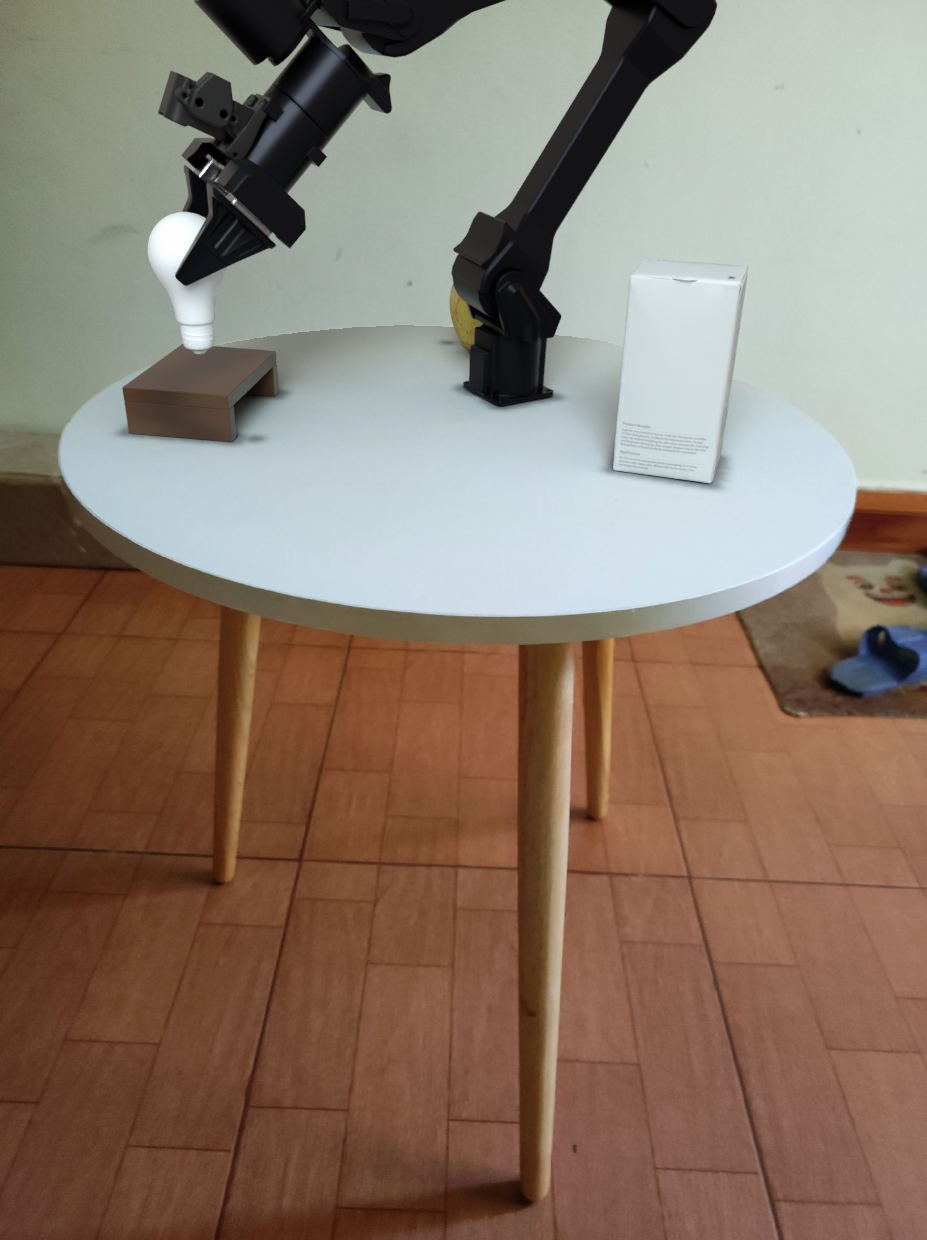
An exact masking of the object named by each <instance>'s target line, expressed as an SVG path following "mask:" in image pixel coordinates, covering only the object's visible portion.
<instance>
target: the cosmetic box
mask: <svg viewBox="0 0 927 1240" xmlns="http://www.w3.org/2000/svg"><path fill="white" fill-rule="evenodd" d="M748 273H749V265H745V264H744V265H742V264H731V263H717V262H716V263H714V262H704V261H703V262H702V261H701V262H700V261H686V260H674V259H660V258H651V257H645V258H644V259H643V261H642V262H641V263H640V264H639V265H638V266H637V267H636V268H635V269H634V270H633V272H632V273H631V274H630V275H629V278H628V289H627V299H626V312H625V321H624V323H625V325H624V338H623V345H622V346H623V347H622V357H621V368H620V381H619V392H618V403H617V414H616V425H615V437H614V447H613V462H612V470H613V471H615V472H622V473H623V472H624V473H632V474H639V475H645V476H653V477H661V478H668V479H675V480H681V481H682V480H683V481H691V482H696V483H704V484H712V482H713V480H714V478H715V474H716V472H717V469H718V466H719V462H720V459H721V456H722V451H723V445H724V438H725V437H724V436H725V431H726V424H727V417H728V411H729V405H730V397H731V392H732V391H731V390H732V384H733V383H732V382H733V376H734V370H735V364H736V358H737V357H736V356H737V350H738V345H739V344H738V343H739V337H740V329H741V323H742V316H743V309H744V302H745V295H746V288H747V281H748V275H749V274H748Z"/></svg>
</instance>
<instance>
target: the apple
mask: <svg viewBox="0 0 927 1240" xmlns="http://www.w3.org/2000/svg"><path fill="white" fill-rule="evenodd" d="M449 314H450V318H451V323H452V325H453V329H454V331H455V333H456V336H457V338H458V340H459V341H460V343H461V344H462V346H464V347H465V348H466V349H467V350H468V351H470V347H471V345H473V344H474V330H475V327H479V326H481V325H482V324H483V323H481V322H479V321H478V320H475V319H473V318H471V315H470V312H469V309H468V306H467V303H466V302H465V301H463V300H462V299H461V298H460V297H459V296H458V294H457V292H456V290H455V288H454V284H453V283H452V286H451V289H450V294H449Z"/></svg>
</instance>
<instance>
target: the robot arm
mask: <svg viewBox="0 0 927 1240" xmlns="http://www.w3.org/2000/svg"><path fill="white" fill-rule="evenodd" d="M505 1H507V0H193V2H194V3H195V4H196V6H197V7H198V8H199V9H200V10H201V11H202V12H203V13H204V14H205V15H206V16H207V18H209V19H210V21H211V22H212V23H213V24H214V25H215V26H216V27H217V28H218V29H219V30H220V31H221V32H222V33H223V34H224V36H226V37H227V38H228V40H229V41H230V42H231V43H232V44H233V45H234V46H235V47H236V48H237V49H238V50H239V51H240V53H242V54H243V56H244V57H245V58H246V59H247V60H248V61H249V62H250V63H251V64H252V65H253V66H258V65H260V64H262V63H263V62H264V61H266V60H267V61H269V63H270V64H271V65H272V67H277V66H279V65H280V64H282V63H283V62H284V61H285V60H287V59H288V58H289V57H290V56H291V55H292V53H293V52H295V50H296V49H297V48H298V46H299V45H300V44H301V42H302V41H303V39H304V38H305V36H306V37H307V39H306V41H305V42H304V43H303V45H301V47H300V48H299V49H298V50H297V52H296V53H295V54H294V56H293V57H292V58H291V59H290V61H288V63H287V64H286V66H285V67H284V68H283V69H282V71H281V72H280V73H279V74H278V76H277V77H276V78H275V79H274V81H273V82H272V83H271V85H270V86H269V87H268V88H267V89H266V91H265V92H264V93H263V94H260V93H255V94H254V93H251V94H250V95H249V96H247V98H246V99H245V100H244V102H243V103H241V102H238V101H237V100H234V99H233V90H232V82H231V81H229V80H227V79H225V78H222V77H221V76H220V75H217V74H216V73H213V72H210V71H206V72H205V73H204V74H203V75H202V76H201V77H200V78H198V80H194V79H192V78H191V77H188V76H185V75H183V74H181V73H179V72H176V71H173V70H170V71H169V75H168V78H167V81H166V85H165V86H164V87H165V88H164V91H163V94H162V97H161V101H160V104H159V107H158V111H157V113H158V115H160V116H162V117H163V118H165V119H167V120H169V121H171V122H173V123H175V124H177V125H179V126H182V127H183V128H185V127H188V126H189V127H191V128H193V129H195V130H197V131H199V132H201V133H203V134H206V135H208V136H210V137H194V138H193V140H192V141H191V142H190V143H189V145H188V146H187V147H186V149H185V150H184V151H183V152H182V154H181V157H182V158H183V159H184V160H185V161H186V162H187V163H188V164H189V165H190V166H192V167H193V169H194V170H192V169H191V168H190V167H189V166H187V164H184V165H183V173H184V175H185V181H186V187H187V199H186V201H185V204H184V206H183V208H182V211H181V212H190V213H195V214H198V215H200V216H202V217H205V218H206V220H205V221H204V223H203V225H202V227H201V228H200V230H199V232H198V234H197V236H196V237H195V239H194V241H193V243H192V244H191V246H190V248H189V250H188V251H187V253H186V255H185V257H184V258H183V260H182V262H181V264H180V266H179V268H178V270H177V272H176V273H175V278H176V279H177V280H178V281H179V282H181V283H182V284H183V285H185V286H188V285H190V284H192V283H194V282H196V281H198V280H200V279H202V278H205V277H207V276H209V275H211V274H213V273H215V272H217V271H219V270H221V269H223V268H225V267H226V268H228V267H231V266H232V265H234V264H237V263H239V262H241V261H243V260H245V259H247V258H250V257H252V256H254V255H257V254H259V253H262V252H263V251H266V250H268V249H270V250H273V249H274V248H276V246H277V244H276V243H275V242H274V241H273V240H272V239H271V238H270V236H271V235H272V234H273V235H274V236H275V238H276V239H277V240H278V241H279V242H280V243H281V244H283V245H284V246H285V247H287V248H288V249H291V248H292V247H293V246H294V244H295V243H296V242H297V241H298V239H299V238H301V236H302V235H303V233H305V231H306V230H307V226H306V225H307V224H306V223H307V222H306V210H305V209H304V208H303V207H302V206H301V205H300V204H299V203H298V202H297V201H296V200H295V199H294V198H293V197H292V196H291V195H290V194H289V192H290V191H291V190H292V189H293V188H294V186H295V185H296V184H297V182H298V181H299V180H300V179H301V177H302V176H303V175H304V174H305V172H306V171H307V170H308V169H309V168H310V167H311V166H312V165H313V166H316V167H318V168H320V166H321V165H322V164H323V163H324V161H325V160H326V159H327V158H328V156H327V155H326V154H325V153H324V151H323V150H324V149H325V148H326V147H327V146H328V144H329V143H330V142H331V141H332V140H333V138H334V137H335V135H336V134H337V133H338V132H339V131H340V129H342V127H343V126H344V125H345V123H347V121H348V120H349V118H350V117H351V116H352V115H353V114H354V112H355V111H356V110H357V108H358V107H359V106H360V105H361V103H363V101H364V103H365V104H366V105H367V106H368V107H369V108H370V109H371V110H372V111H375V112H379V113H383V114H391V112H392V110H393V105H392V97H391V81H392V76H391V75H390V74H389V73H386V72H381V71H380V72H373V71H372V69H371V68H370V66H368V64H366V62H365V61H364V60H363V59H362V57H361V56H360V55H359V54H358V53H357V52H356V51H355V49H356V50H358V51H359V52H360V53H363V54H367V55H373V56H381V57H388V58H394V59H395V58H400V57H406V56H409V55H411V54H412V53H414V52H416V51H418V50H419V49H421V48H423V47H424V46H426V45H427V44H429V43H431V42H432V41H434V40H435V39H437V38H439V37H441V36H442V35H443V34H445V33H446V32H447V31H448V30H450V29H451V28H452V27H453V26H454V25H456V24H457V23H458V22H459V21H461V20H463V19H464V18H466V17H467V16H469V15H470V14H472V13H474V12H477V11H481V10H483V9H486V8H488V7H491V6H494V5H497V4H500V3H502V2H505ZM603 1H604V2H605V3H606V4H607V5H609V6H610V7H611V8H610V11H609V13H608V15H607V18H606V21H605V25H604V26H605V27H604V33H603V40H602V46H601V52H600V55H599V57H598V59H597V61H596V63H594V66H593V67H592V69H591V71H590V73H589V74H588V75H587V77H586V79H585V81H584V82H583V84H582V85H581V87H580V89H579V91H578V92H577V93H576V96H575V97H574V99H573V100H572V102H571V103H570V105H569V107H568V108H567V110H566V112H565V114H564V115H563V117H562V118H561V120H560V122H559V124H558V125H557V127H555V130H554V132H553V133H552V135H551V136H550V138H549V139H548V141H547V143H546V145H545V146H544V148H543V150H542V151H541V153H540V154H539V156H538V158H537V159H536V161H535V163H534V164H533V166H532V168H531V169H530V171H529V172H528V174H527V176H526V177H525V179H524V181H523V182H522V184H521V186H520V188H519V189H518V191H517V192H516V194H515V196H514V197H513V199H512V200H511V201H510V203H509V204H508V205H507V206H506V207H505V208H504V209H503V210H501V211H500V212H499V213H497V214H496V215H494V216H493V215H491V214H488V213H486V212H483V211H478V212H477V213H476V215H475V216H474V217H473V219H472V221H471V223H470V226H469V228H468V231H467V233H466V235H465V236H464V237H463V239H462V240H461V241H460V243H458V244H457V245H455V246H454V247H453V252H454V253H456V254H457V255H456V256H455V259H454V262H453V264H452V266H451V276H452V285H453V284H454V288H455V290H456V292H457V294H458V296H459V297H460V298H461V299H462V300H463V301H465V302H466V303H467V306H468V309H469V312H470V315H471V318H473V319H475V320H478V321H479V322H481V323H483V324H482V325H481V326H479V327H475V330H474V344H473V345H471V347H470V350H469V368H468V380H465V381H463V385H462V387H463V388H464V389H466V390H467V391H469V392H471V393H472V394H473V393H474V394H475V395H477V396H479V397H481V398H483V399H485V400H486V401H488V402H490V403H492V404H494V405H496V406H501V407H502V406H506V405H507V406H508V405H513V404H518V403H524V402H530V401H533V400H539V399H544V398H550V397H554V390H553V389H551V388H549V387H547V386H545V373H546V372H545V371H546V359H547V346H548V345H547V344H548V339H553V338H554V337H555V335H556V332H557V330H558V328H559V325H560V322H561V319H562V314H561V312H560V311H559V310H558V309H557V308H556V307H555V306H554V305H553V303H552V302H551V301H550V300H549V298H547V296H545V294H544V293H543V292H542V291H541V288H542V287H543V284H544V282H545V280H546V277H547V276H548V273H549V271H550V266H551V259H552V252H553V246H554V239H555V236H556V234H557V232H558V230H559V228H560V227H561V225H562V224H563V222H564V221H565V219H566V217H567V216H568V214H569V212H570V211H571V209H572V208H573V206H574V204H575V203H576V201H577V200H578V199H579V197H580V195H581V193H582V192H583V190H584V188H585V187H586V185H587V184H588V182H589V181H590V179H591V177H592V176H593V174H594V172H595V171H596V169H597V167H598V166H599V165H600V163H601V161H602V160H603V158H604V157H605V155H606V153H607V152H608V150H609V148H610V147H611V145H612V144H613V143H614V140H615V139H616V138H617V136H618V134H619V133H620V131H621V130H622V128H623V126H624V125H625V123H626V121H627V120H628V119H629V117H630V115H631V113H632V112H633V110H634V108H635V107H636V106H637V104H638V103H639V101H640V99H641V98H642V96H643V94H644V92H645V91H646V90H647V88H649V86H650V85H651V84H652V83H653V82H654V81H655V80H657V79H658V78H659V77H661V76H662V75H664V73H666V72H667V71H668V70H670V69H671V68H672V67H673V66H675V65H676V64H677V63H679V62H681V60H683V58H684V57H685V56H686V55H687V54H688V52H690V50H691V49H692V48H693V47H694V45H695V44H697V42H698V41H699V40H700V39H701V37H703V35H704V34H705V33H706V32H707V31H708V29H709V27H710V26H711V24H712V22H713V19H714V18H715V16H716V12H717V9H718V2H717V0H603ZM320 27H321V28H325V29H329V30H332V31H337V32H341V33H342V36H343V37H344V39H345V41H346V42H347V43H344V44H342V45H339V46H337V45H335V44H334V42H333V41H332V40H330V38H329V37H328V36H327V35H326V34H325V33H324V32H323V30H322V29H321V28H320Z"/></svg>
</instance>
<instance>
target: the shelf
mask: <svg viewBox="0 0 927 1240" xmlns="http://www.w3.org/2000/svg"><path fill="white" fill-rule="evenodd" d="M277 363H278V362H277V352H276V350H269V349H258V348H257V349H255V348H243V347H229V346H215V345H213V347H211V348H210V349H207V351H206V353H204V354H195V353H194V352H193V351H192V350H189V349H187V348H185V347H184V345H183V343H182V344H180V345H178V347H176V348H174V349H173V350H172V351H170V352H169V353H168V354H166V355H165V356H163V357H162V358H161V359H159V360H158V361H157V362H155V363H153V364H152V365H150V367H148V368H147V369H145V370H143V372H141V373H140V374H139V375H137V376H136V377H134V378H133V379H132V380H130V381H129V382H128V383H126V384H125V385H123V386H122V395H123V402H124V403H123V404H124V408H125V409H124V410H125V414H126V415H125V416H126V421H127V427H128V429H127V430H128V434H134V435H146V436H157V437H170V438H180V439H181V438H182V439H193V440H205V441H217V442H227V443H232V442H233V441H235V439H236V438H237V427H236V416H235V406H234V405H235V404H236V403H237V402H238V401H240V400H241V398H242V397H243V396H245V395H249V396H262V397H273V398H274V397H275V398H276V397H277V395H278V394H279V393H280V391H279V379H278V378H279V377H278V365H277Z"/></svg>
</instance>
